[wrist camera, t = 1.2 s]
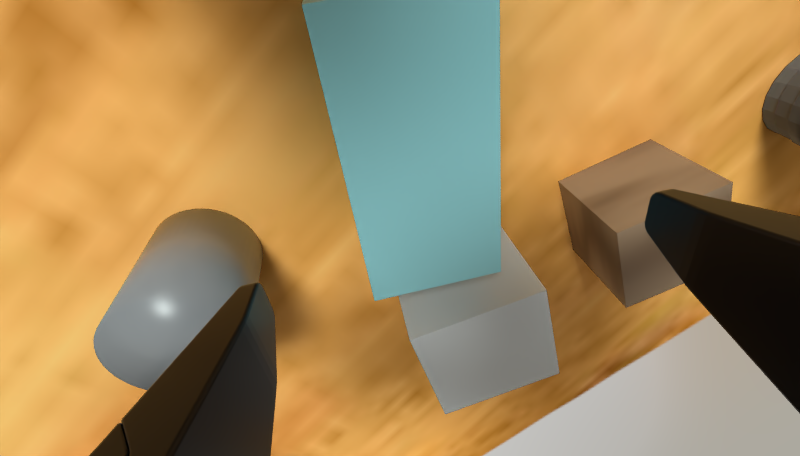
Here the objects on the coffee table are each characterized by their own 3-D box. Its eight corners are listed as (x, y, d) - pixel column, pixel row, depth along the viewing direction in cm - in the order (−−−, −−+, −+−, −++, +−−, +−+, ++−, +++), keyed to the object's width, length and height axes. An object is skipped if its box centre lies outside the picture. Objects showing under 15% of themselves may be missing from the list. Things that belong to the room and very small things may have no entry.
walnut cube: (653, 212, 24) (725, 265, 19) (572, 248, 24) (626, 307, 20) (649, 138, 21) (732, 182, 17) (557, 180, 21) (616, 233, 17)
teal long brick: (456, 198, 21) (500, 271, 16) (359, 219, 20) (374, 301, 15) (438, -32, 15) (499, -31, 10) (305, -9, 15) (301, 4, 10)
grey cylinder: (276, 280, 21) (264, 375, 16) (179, 301, 21) (138, 405, 16) (241, 198, 19) (215, 283, 14) (130, 221, 18) (61, 317, 13)
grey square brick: (511, 292, 25) (559, 373, 20) (419, 326, 25) (445, 414, 20) (493, 215, 22) (546, 290, 17) (388, 255, 22) (409, 340, 17)
